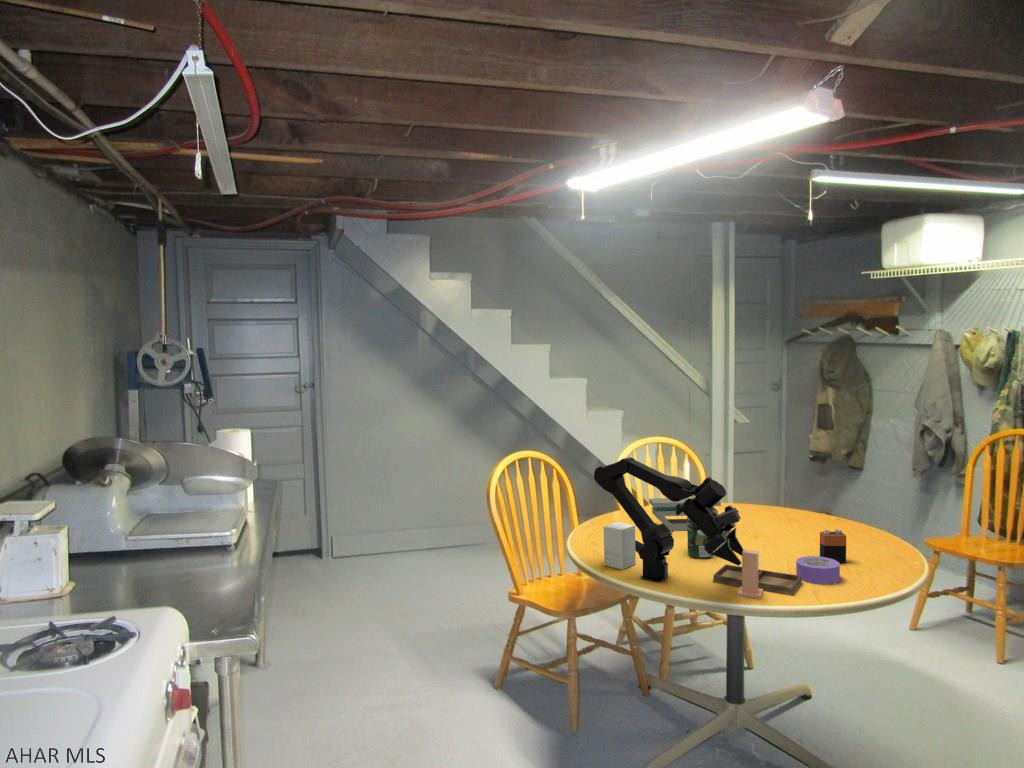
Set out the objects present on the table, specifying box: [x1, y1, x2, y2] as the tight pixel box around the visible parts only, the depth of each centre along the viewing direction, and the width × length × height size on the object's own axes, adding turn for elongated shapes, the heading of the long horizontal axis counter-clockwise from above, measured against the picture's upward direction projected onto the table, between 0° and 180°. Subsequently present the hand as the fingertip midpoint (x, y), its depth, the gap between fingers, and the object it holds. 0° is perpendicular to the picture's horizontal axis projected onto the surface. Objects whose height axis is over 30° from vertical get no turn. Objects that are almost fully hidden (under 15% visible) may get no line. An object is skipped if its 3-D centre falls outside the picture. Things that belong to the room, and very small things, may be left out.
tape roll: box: [795, 555, 841, 586], centre depth 210 cm, size 12×12×5 cm
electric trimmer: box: [635, 539, 645, 552], centre depth 238 cm, size 4×16×3 cm, turn 18°
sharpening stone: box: [648, 497, 722, 532], centre depth 268 cm, size 25×8×11 cm, turn 90°
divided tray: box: [712, 564, 803, 596], centre depth 206 cm, size 22×12×2 cm, turn 57°
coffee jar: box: [686, 497, 714, 560], centre depth 234 cm, size 10×8×19 cm
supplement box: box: [603, 521, 637, 570], centre depth 225 cm, size 7×7×13 cm
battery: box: [819, 529, 847, 564], centre depth 225 cm, size 4×7×10 cm, turn 85°
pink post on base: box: [737, 549, 764, 600], centre depth 197 cm, size 6×6×12 cm
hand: (742, 559), depth 197 cm, fingers open, 9 cm apart
